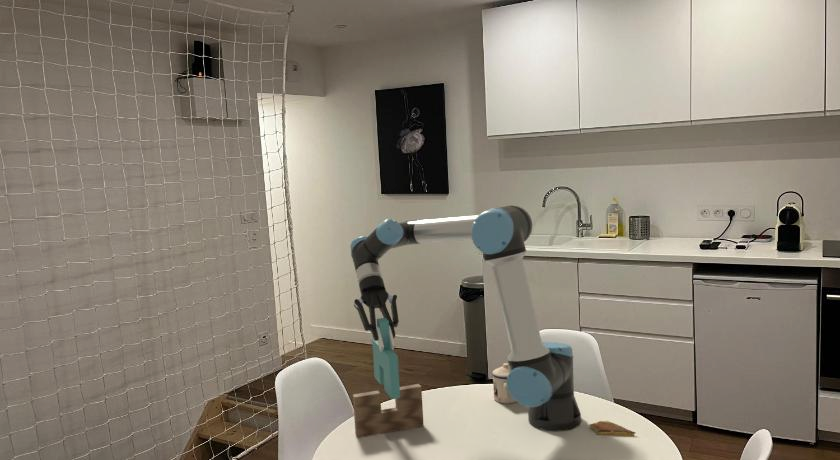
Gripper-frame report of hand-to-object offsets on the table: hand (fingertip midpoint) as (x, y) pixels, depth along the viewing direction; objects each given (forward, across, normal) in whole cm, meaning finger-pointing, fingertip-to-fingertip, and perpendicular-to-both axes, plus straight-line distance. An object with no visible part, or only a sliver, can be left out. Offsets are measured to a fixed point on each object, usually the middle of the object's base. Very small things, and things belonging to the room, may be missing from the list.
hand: (387, 348), depth 177 cm
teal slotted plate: (+6, 0, -12) cm, 13 cm away
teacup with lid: (+11, -41, -25) cm, 49 cm away
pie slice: (+34, -58, -2) cm, 67 cm away
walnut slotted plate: (+16, 0, -21) cm, 26 cm away
